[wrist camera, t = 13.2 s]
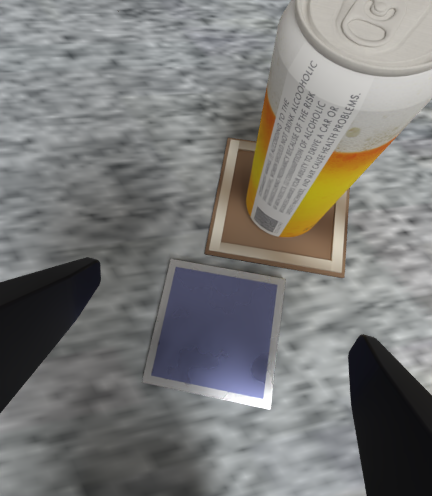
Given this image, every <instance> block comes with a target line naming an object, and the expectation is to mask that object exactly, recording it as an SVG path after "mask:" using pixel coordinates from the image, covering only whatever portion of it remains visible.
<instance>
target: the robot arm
mask: <svg viewBox="0 0 432 496" xmlns="http://www.w3.org/2000/svg"><path fill="white" fill-rule="evenodd" d="M100 281H101V272H100V262H99V261H98V260H97V259H93V258H89V257H86V258H83V259H79V260H76V261H73V262H69V263H66V264H62V265H59V266H55V267H52V268H48V269H45V270H42V271H38V272H35V273H31V274H28V275H24V276H21V277H17V278H14V279H11V280H7V281H4V282H0V413H1V412H2V411H3V409H4V408H5V407H6V406H7V404H8V403H9V402H10V401H11V400H12V398H13V397H14V396H15V395H16V393H17V392H18V391H19V390H20V389H21V387H22V386H23V385H24V384H25V382H26V381H27V380H28V379H29V377H30V376H31V375H32V374H33V373H34V371H35V370H36V369H37V368H38V366H39V365H40V364H41V363H42V362H43V360H44V359H45V358H46V357H47V355H48V354H49V353H50V352H51V351H52V349H53V348H54V347H55V346H56V344H57V343H58V342H59V341H60V339H61V338H62V337H63V336H64V335H65V333H66V332H67V331H68V330H69V328H70V327H71V326H72V325H73V323H74V322H75V321H76V319H77V318H78V317H79V315H80V314H81V312H82V311H83V309H84V307H85V306H86V304H87V303H88V301H89V300H90V298H91V297H92V295H93V294H94V292H95V291H96V289H97V288H98V286H99V284H100ZM348 362H349V379H350V396H351V406H352V413H353V419H354V425H355V430H356V436H357V442H358V448H359V454H360V460H361V465H362V471H363V477H364V483H365V489H366V494H367V496H432V395H431V394H430V393H429V392H428V391H427V390H426V389H425V388H424V387H423V386H422V385H421V384H420V383H419V382H418V381H417V380H416V379H415V378H414V377H413V376H412V375H411V374H410V373H409V372H408V371H407V370H406V369H405V368H404V367H403V366H402V365H401V363H400V362H399V361H398V360H397V359H396V358H395V357H394V356H393V355H392V354H391V353H390V352H389V351H388V350H387V349H386V348H385V347H384V346H383V345H382V344H381V343H380V342H379V341H378V340H377V339H376V338H374V337H371V336H367V335H364V334H363V335H360V336H359V337H358V339H357V340H356V342H355V343H354V345H353V346H352V348H351V350H350V352H349V355H348Z"/></svg>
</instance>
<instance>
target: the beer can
mask: <svg viewBox="0 0 432 496" xmlns="http://www.w3.org/2000/svg"><path fill="white" fill-rule="evenodd" d="M431 99H432V0H291V2H290V3H289V5H288V6H287V8H286V9H285V11H284V13H283V14H282V16H281V19H280V21H279V24H278V29H277V35H276V40H275V46H274V51H273V56H272V62H271V67H270V73H269V78H268V83H267V89H266V94H265V100H264V105H263V110H262V116H261V121H260V127H259V132H258V137H257V143H256V148H255V154H254V159H253V164H252V170H251V175H250V181H249V186H248V191H247V197H246V205H247V210H248V213H249V215H250V217H251V219H252V220H253V222H254V223H255V224H256V225H257V226H258V227H259V228H260V229H262V230H263V231H265V232H266V233H268V234H271V235H273V236H277V237H286V238H288V237H295V236H299V235H302V234H304V233H306V232H307V231H309V230H310V229H311V228H312V227H313V226H314V225H315V224H316V223H317V222H318V221H319V220H320V219H321V218H322V217H323V216H324V215H325V213H326V212H327V211H328V210H329V209H330V208H331V207H332V206H333V205H334V204H335V203H336V202H337V201H338V199H339V198H340V197H341V196H342V195H343V194H344V193H345V192H346V191H347V190H348V189H349V188H350V186H351V185H352V184H353V183H354V182H355V181H356V180H357V179H358V178H359V177H360V176H361V175H362V173H363V172H364V171H365V170H366V169H367V168H368V167H369V166H370V165H371V164H372V163H373V162H374V160H375V159H376V158H377V157H378V156H379V155H380V154H381V153H382V152H383V151H384V150H385V149H386V148H387V146H388V145H389V144H390V143H391V142H392V141H393V140H394V139H395V138H396V137H397V136H398V135H399V133H400V132H401V131H402V130H403V129H404V128H405V127H406V126H407V125H408V124H409V123H410V122H411V120H412V119H413V118H414V117H415V116H416V115H417V114H418V113H419V112H420V111H421V110H422V109H423V108H424V106H425V105H426V104H427V103H428V102H429V101H430V100H431Z"/></svg>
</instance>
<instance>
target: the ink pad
mask: <svg viewBox="0 0 432 496" xmlns="http://www.w3.org/2000/svg"><path fill="white" fill-rule="evenodd" d="M285 280H286V279H283V278H277V277H271V276H266V275H260V274H254V273H249V272H243V271H237V270H232V269H226V268H220V267H214V266H209V265H203V264H197V263H192V262H186V261H180V260H175V259H170V264H169V268H168V272H167V277H166V281H165V285H164V289H163V294H162V298H161V302H160V306H159V311H158V315H157V319H156V323H155V328H154V332H153V336H152V340H151V345H150V349H149V353H148V358H147V362H146V366H145V370H144V375H143V379H142V383H147V384H152V385H156V386H161V387H166V388H171V389H175V390H180V391H185V392H190V393H194V394H199V395H204V396H209V397H213V398H218V399H223V400H227V401H232V402H237V403H242V404H246V405H251V406H256V407H261V408H265V409H270V408H271V399H272V391H273V382H274V374H275V365H276V357H277V348H278V340H279V331H280V323H281V314H282V305H283V297H284V288H285Z"/></svg>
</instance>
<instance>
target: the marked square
mask: <svg viewBox="0 0 432 496" xmlns="http://www.w3.org/2000/svg"><path fill="white" fill-rule="evenodd" d="M256 143H257V142H255V141H248V140H241V139H234V138H228V140H227V145H226V150H225V155H224V160H223V165H222V170H221V175H220V180H219V185H218V190H217V195H216V200H215V205H214V210H213V215H212V220H211V224H210V229H209V234H208V239H207V244H206V249H205V254H206V255H212V256H218V257H224V258H229V259H235V260H241V261H247V262H253V263H258V264H264V265H270V266H276V267H281V268H287V269H293V270H299V271H305V272H310V273H316V274H322V275H328V276H333V277H339V278H344V274H345V258H346V241H347V224H348V207H349V191H350V188H349V189H348V190H347V191H346V192H345V193H344V194H343V195H342V196H341V197H340V198H339V199H338V201H337V202H336V203H335V204H334V205H333V206H332V207H331V208H330V209H329V210H328V211H327V212H326V213H325V215H324V216H323V217H322V218H321V219H320V220H319V221H318V222H317V223H316V224H315V225H314V226H313V227H312V228H311V229H310V230H309V231H307V232H306V233H304V234H302V235H299V236H295V237H288V238H286V237H277V236H273V235H271V234H268V233H266V232H265V231H263V230H262V229H260V228H259V227H258V226H257V225H256V224H255V223H254V222H253V220H252V219H251V217H250V215H249V213H248V210H247V205H246V197H247V191H248V186H249V181H250V175H251V170H252V164H253V159H254V154H255V148H256Z"/></svg>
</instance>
